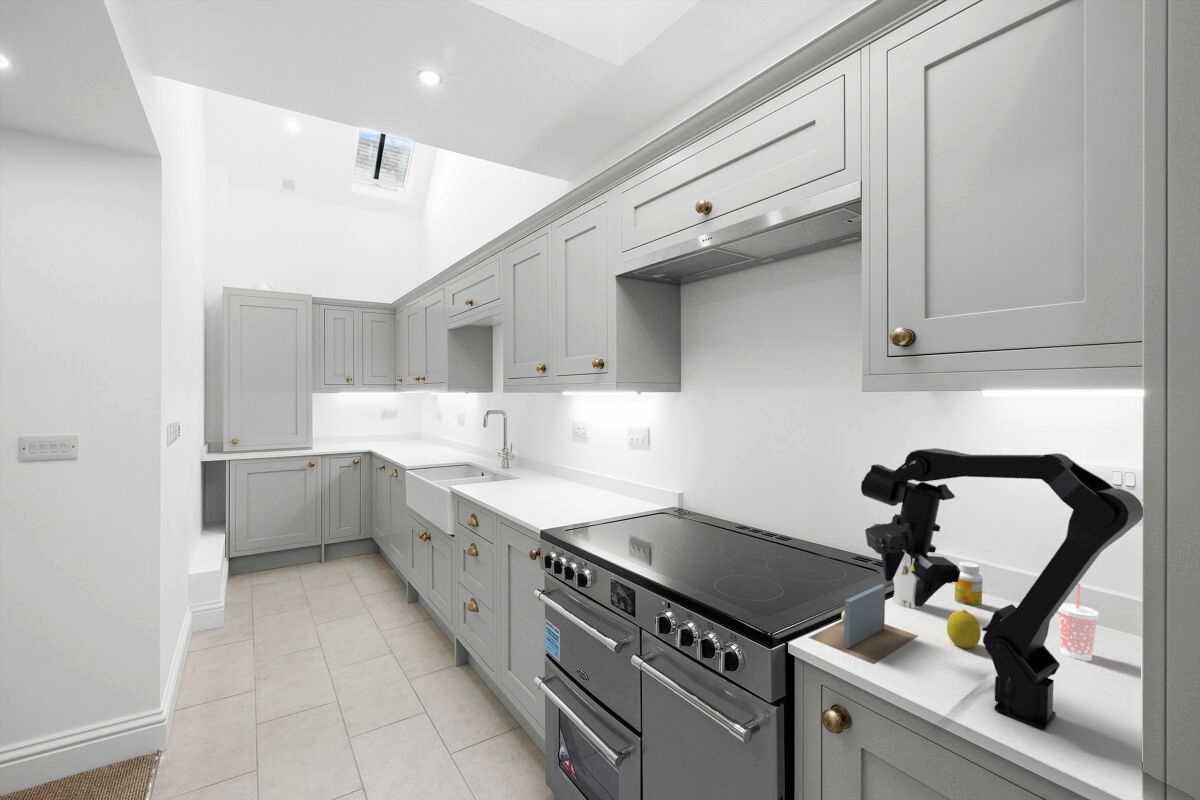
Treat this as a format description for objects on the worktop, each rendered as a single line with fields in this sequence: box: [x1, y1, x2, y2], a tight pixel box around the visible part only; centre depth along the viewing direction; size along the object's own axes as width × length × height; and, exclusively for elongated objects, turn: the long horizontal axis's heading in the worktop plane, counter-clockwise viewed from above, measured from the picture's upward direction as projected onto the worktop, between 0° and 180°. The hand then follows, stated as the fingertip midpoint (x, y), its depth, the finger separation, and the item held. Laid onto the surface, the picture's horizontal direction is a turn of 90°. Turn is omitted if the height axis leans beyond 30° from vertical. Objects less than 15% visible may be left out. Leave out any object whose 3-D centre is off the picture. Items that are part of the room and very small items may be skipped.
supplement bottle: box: [954, 561, 984, 609], centre depth 130 cm, size 5×5×10 cm
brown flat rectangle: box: [808, 620, 919, 665], centre depth 110 cm, size 13×19×1 cm
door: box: [840, 583, 886, 648], centre depth 110 cm, size 2×15×9 cm, turn 128°
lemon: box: [946, 609, 982, 649], centre depth 107 cm, size 6×6×8 cm
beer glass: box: [892, 553, 921, 609], centre depth 128 cm, size 7×7×15 cm
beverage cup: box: [1057, 582, 1100, 661], centre depth 106 cm, size 6×6×14 cm
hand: (902, 592), depth 103 cm, fingers open, 9 cm apart
